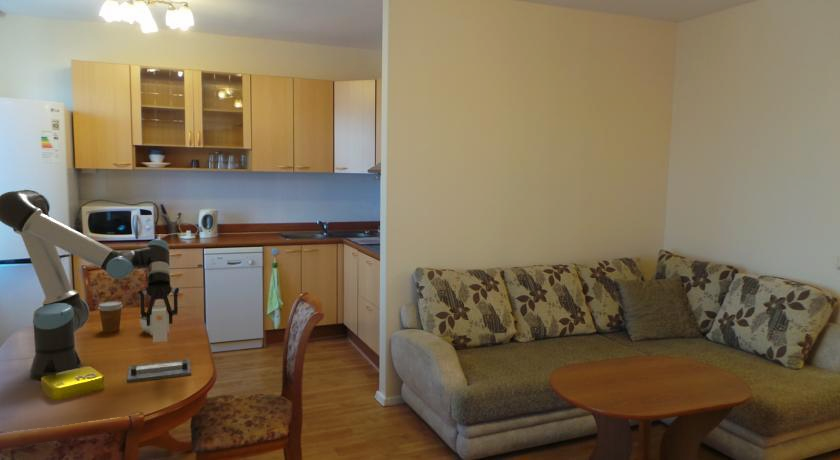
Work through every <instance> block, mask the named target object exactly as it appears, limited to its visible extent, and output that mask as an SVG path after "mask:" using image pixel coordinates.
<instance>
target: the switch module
mask: <svg viewBox="0 0 840 460" xmlns="http://www.w3.org/2000/svg"><path fill="white" fill-rule="evenodd" d="M166 314H168V312H167V309H166V305H165V304H159V305H154V306H153V307H152V328H153V335H152V343H159V342H168V334H167V315H166Z"/></svg>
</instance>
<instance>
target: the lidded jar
mask: <svg viewBox="0 0 840 460" xmlns="http://www.w3.org/2000/svg"><path fill="white" fill-rule="evenodd" d="M151 315H152V314H151ZM139 323H140V326H141V329H142V330H143V331H144V332H145V333H146V334H150V326H147V318H146V317H141V314H139Z"/></svg>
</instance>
